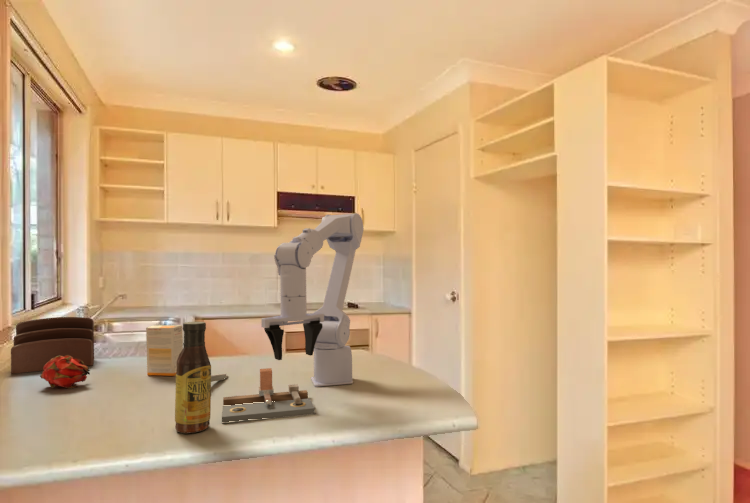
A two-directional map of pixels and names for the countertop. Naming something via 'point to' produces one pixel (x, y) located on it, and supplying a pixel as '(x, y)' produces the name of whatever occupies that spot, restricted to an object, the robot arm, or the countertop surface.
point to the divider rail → (281, 396)
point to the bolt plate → (267, 410)
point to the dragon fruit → (64, 371)
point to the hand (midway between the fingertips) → (294, 356)
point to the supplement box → (163, 349)
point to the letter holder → (51, 342)
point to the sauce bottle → (193, 381)
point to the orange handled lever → (266, 385)
